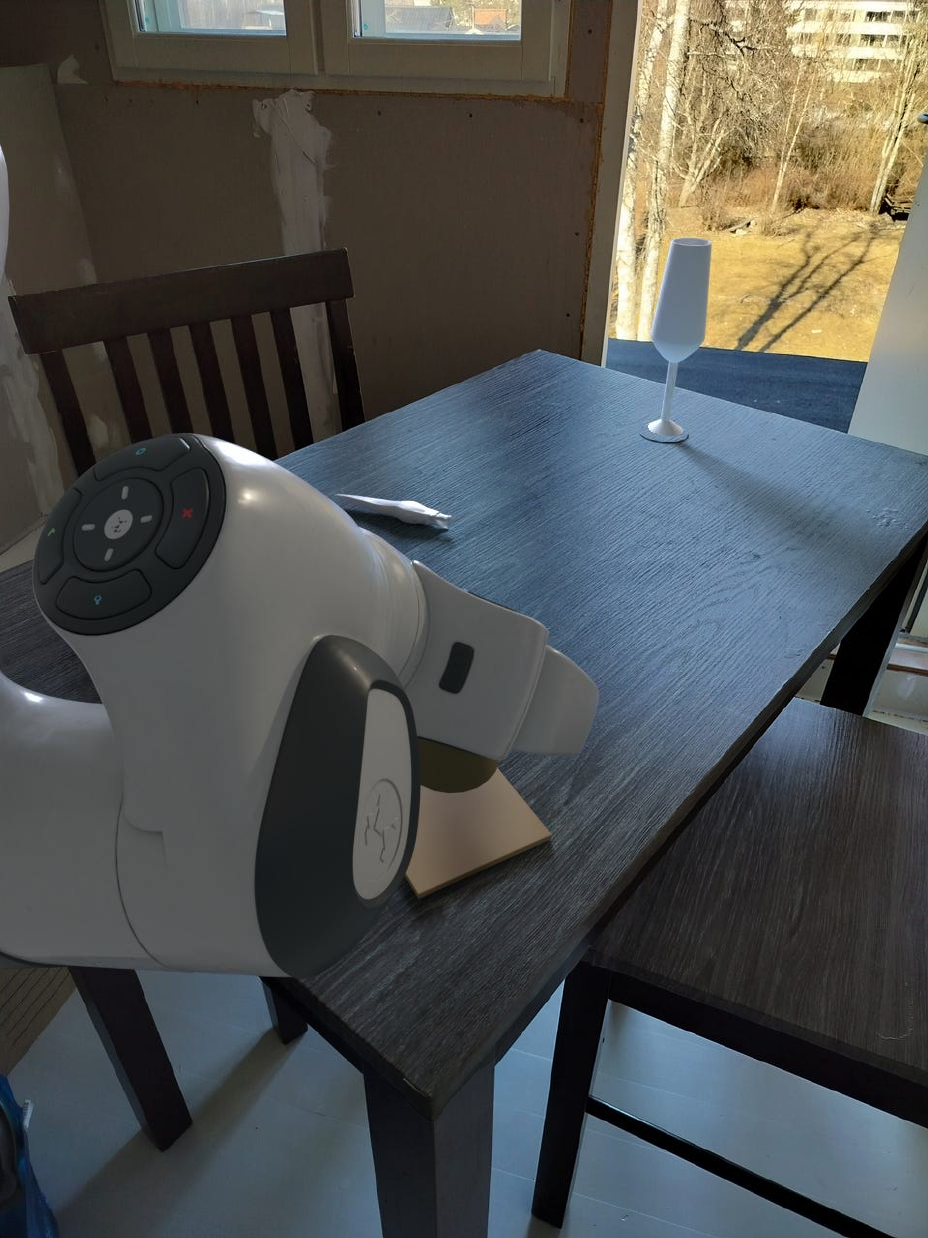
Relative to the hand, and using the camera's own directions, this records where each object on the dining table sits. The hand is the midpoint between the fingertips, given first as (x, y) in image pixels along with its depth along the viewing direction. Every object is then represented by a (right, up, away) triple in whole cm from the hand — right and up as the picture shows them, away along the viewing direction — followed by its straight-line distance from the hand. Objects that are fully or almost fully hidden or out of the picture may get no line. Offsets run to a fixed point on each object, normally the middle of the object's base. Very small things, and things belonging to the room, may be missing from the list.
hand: (456, 683), depth 52 cm
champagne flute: (+27, +29, +62) cm, 74 cm away
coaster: (0, -10, +6) cm, 12 cm away
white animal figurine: (-7, +15, +42) cm, 46 cm away
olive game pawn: (0, -5, +3) cm, 6 cm away
